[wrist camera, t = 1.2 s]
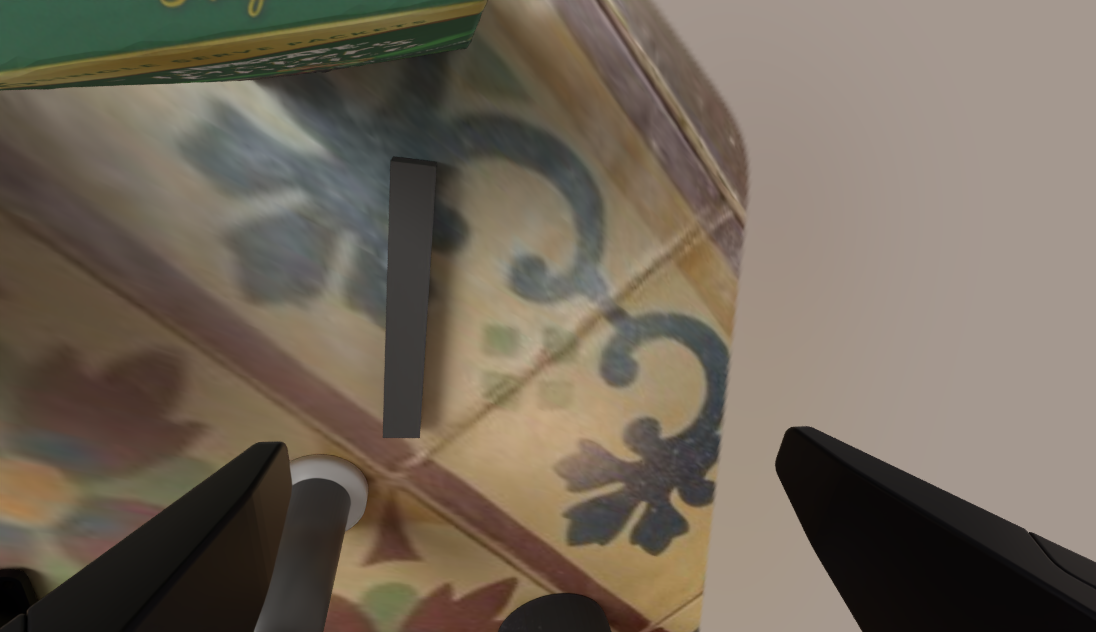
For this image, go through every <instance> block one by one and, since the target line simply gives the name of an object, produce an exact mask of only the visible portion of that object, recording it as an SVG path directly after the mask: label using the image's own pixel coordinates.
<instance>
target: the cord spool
mask: <svg viewBox="0 0 1096 632" xmlns="http://www.w3.org/2000/svg"><path fill="white" fill-rule="evenodd" d="M289 463H290V471H291V478H292V493H291V498H290V503H289V507H288V511H287V515H286V520H285V524H284V528H283V532H282V537H281V541H280V545H279V549H278V554H277V558H276V562H275V566H274V571H273V575H272V579H271V582H270V586H269V590H268V593H267V596H266V599H265V602H264V605H263V608H262V610H261V613H260V616H259V619H258V622H257V624H256V627H255V630H254V632H323V631H324V626H325V621H326V617H327V612H328V608H329V603H330V598H331V594H332V589H333V585H334V580H335V575H336V571H337V566H338V561H339V557H340V552H341V548H342V543H343V538H344V534H345V531H347V530H348V529H350V528H351V527H353V526H354V525H355V524H356V523H357V522H358V521H359V520H360V519H361V517H362V516H363V514H364V511H365V508H366V503H367V498H368V483H367V480H366V478H365V476H364V474H363V473H362V472H361V471H360V470H359V468H357V467H356V466H355V465H354V464H352V463H351V462H349V461H347V460H345V459H342V458H339V457H336V456H332V455H322V454H317V455H308V456H303V457H300V458H297V459H295V460H292V461H291V462H289Z"/></svg>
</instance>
